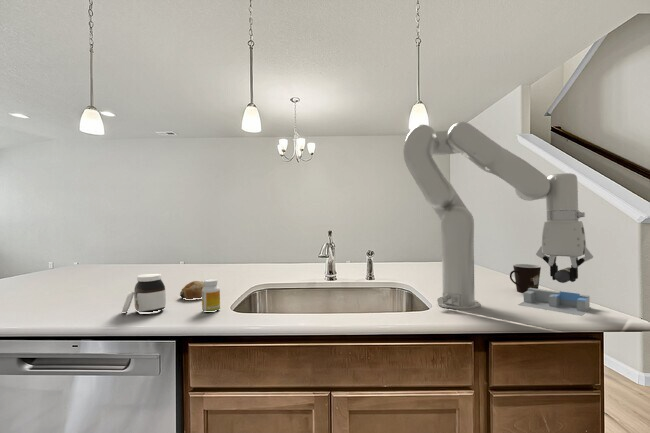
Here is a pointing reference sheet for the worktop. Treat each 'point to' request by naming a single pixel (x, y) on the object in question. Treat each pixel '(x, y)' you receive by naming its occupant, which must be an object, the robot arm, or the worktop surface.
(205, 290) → the supplement bottle
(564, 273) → the banded gray canister
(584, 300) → the grey ledge plate
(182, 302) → the worktop surface
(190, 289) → the bread roll
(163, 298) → the spread jar
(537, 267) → the coffee mug
